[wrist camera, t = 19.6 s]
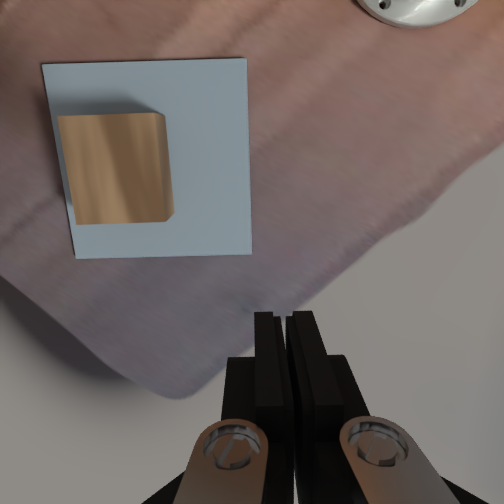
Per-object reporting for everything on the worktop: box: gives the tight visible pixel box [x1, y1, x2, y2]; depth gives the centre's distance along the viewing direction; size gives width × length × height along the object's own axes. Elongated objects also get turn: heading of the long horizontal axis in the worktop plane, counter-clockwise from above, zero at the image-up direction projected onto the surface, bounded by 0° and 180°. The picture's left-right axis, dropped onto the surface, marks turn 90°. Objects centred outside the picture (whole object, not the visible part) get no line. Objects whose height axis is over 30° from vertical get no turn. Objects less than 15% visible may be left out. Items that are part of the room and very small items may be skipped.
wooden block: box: [57, 113, 175, 225], centre depth 29 cm, size 4×8×7 cm
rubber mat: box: [42, 58, 252, 259], centre depth 31 cm, size 16×16×1 cm
